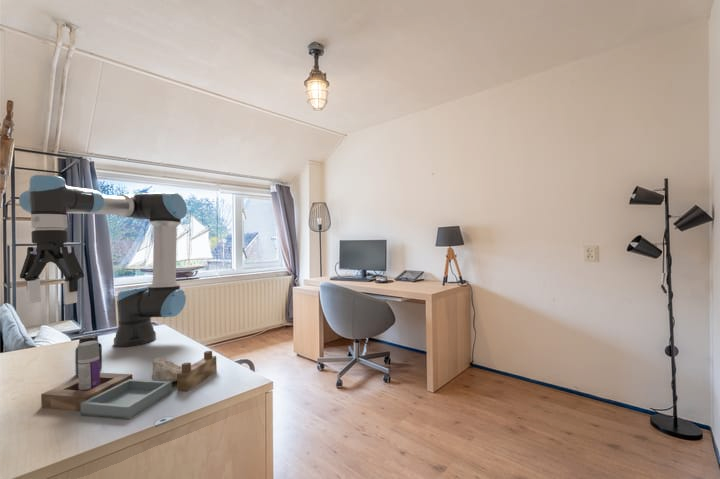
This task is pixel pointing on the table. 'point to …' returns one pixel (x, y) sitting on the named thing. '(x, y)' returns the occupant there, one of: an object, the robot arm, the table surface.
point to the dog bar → (196, 372)
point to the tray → (126, 399)
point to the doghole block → (80, 392)
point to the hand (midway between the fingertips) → (52, 303)
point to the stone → (165, 370)
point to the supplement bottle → (85, 339)
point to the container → (88, 365)
